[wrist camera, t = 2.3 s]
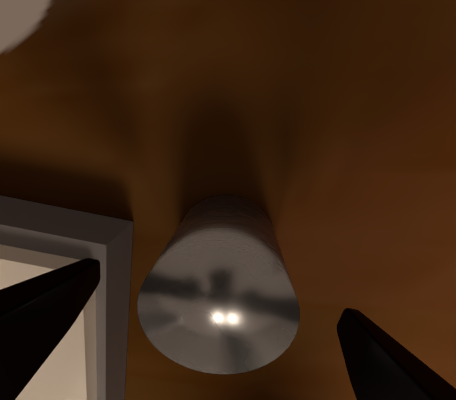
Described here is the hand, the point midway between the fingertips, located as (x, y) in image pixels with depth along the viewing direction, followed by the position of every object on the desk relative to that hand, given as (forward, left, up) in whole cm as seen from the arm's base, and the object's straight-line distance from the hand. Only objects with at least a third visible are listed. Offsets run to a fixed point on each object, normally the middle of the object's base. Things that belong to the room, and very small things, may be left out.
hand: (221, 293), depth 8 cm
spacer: (0, 0, -4) cm, 4 cm away
